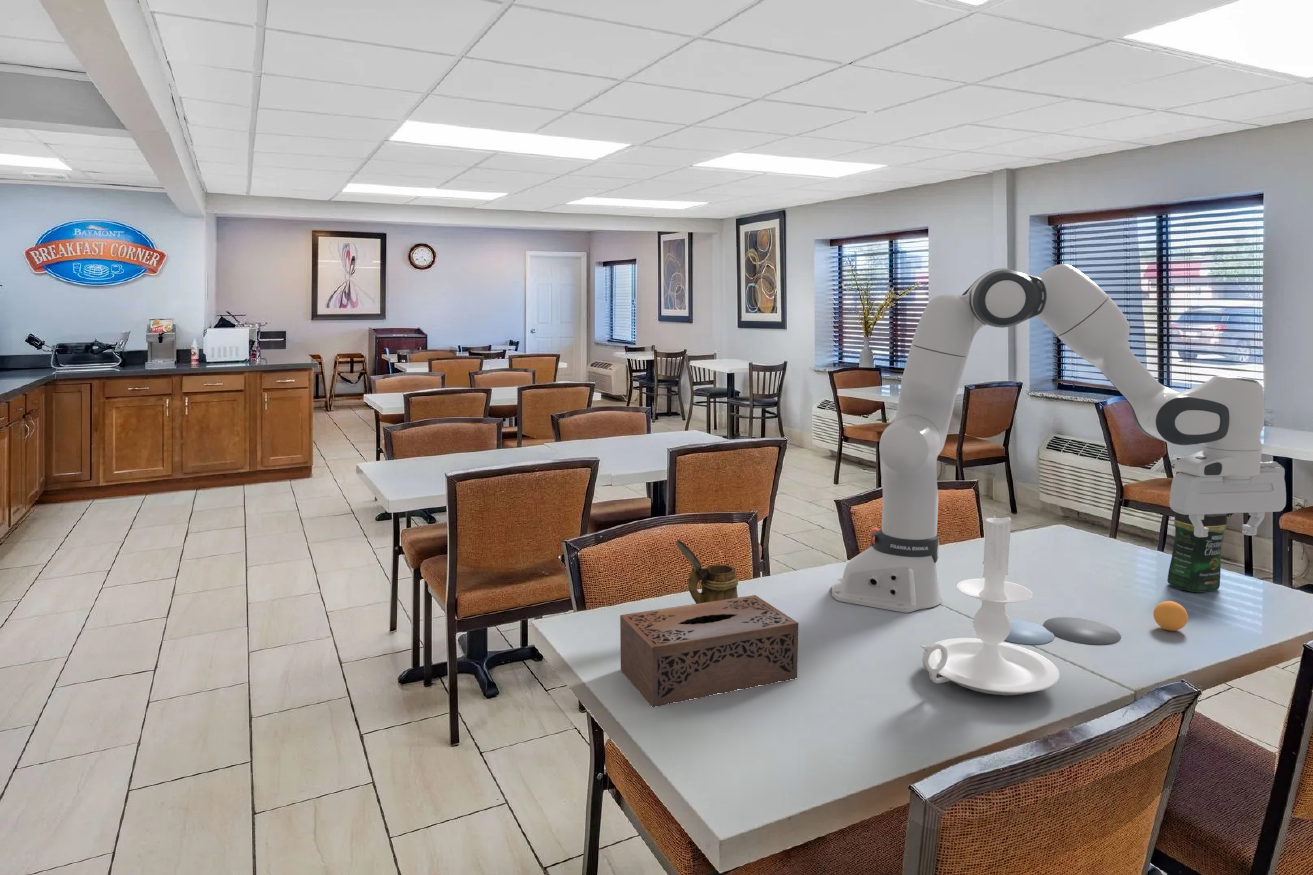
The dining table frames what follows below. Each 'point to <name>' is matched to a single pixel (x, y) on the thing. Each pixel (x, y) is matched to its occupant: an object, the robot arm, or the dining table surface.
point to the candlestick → (991, 632)
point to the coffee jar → (1197, 554)
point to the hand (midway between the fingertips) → (1224, 535)
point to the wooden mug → (710, 579)
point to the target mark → (1082, 630)
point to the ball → (1170, 615)
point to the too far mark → (1028, 633)
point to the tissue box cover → (707, 649)
